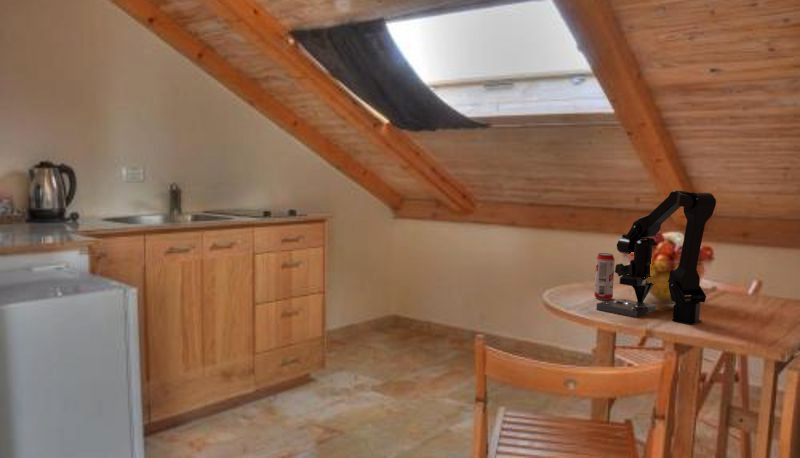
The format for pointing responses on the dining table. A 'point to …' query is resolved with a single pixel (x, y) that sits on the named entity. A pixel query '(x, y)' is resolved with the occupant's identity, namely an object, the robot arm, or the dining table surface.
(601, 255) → the beer can
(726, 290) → the dining table surface
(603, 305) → the fixed leaf
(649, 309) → the free leaf
